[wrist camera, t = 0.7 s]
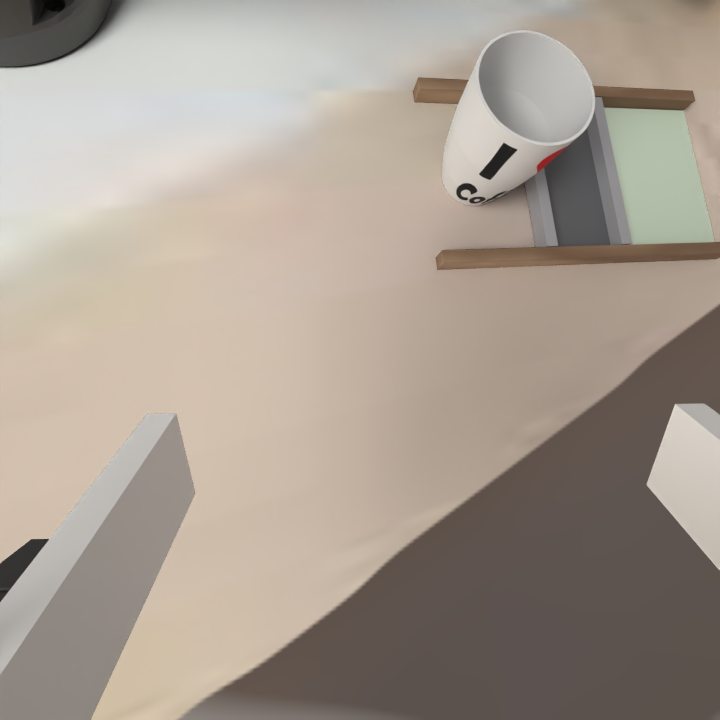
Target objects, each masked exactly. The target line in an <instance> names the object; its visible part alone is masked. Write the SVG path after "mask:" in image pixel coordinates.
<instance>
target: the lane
mask: <svg viewBox="0 0 720 720" xmlns="http://www.w3.org/2000/svg"><path fill="white" fill-rule="evenodd" d="M468 81H469V80H459V79H438V78H418V80H417V83H416V85H415V88H414V90H413V95H414V102H429V103H456V104H458V103H459V101H460V99H461V96H462V94H463V92H464V90H465V87H466V85H467V83H468ZM593 88H594V93H595V97H602V101H603V106H604V108H628V109H654V110H680V111H683V110H684V109H685V108H686V107H688V106H689V105H690V104H691V103H693V102H694V101H695V98H694V94H693V91H684V90H664V89H643V88H623V87H602V86H593ZM719 257H720V242H700V243H667V244H633V245H600V246H566V247H533V248H499V249H466V250H442V251H441V253H440V254H439V255H438V256H437V257H436V262H437V270H442V269H468V268H493V267H519V266H545V265H571V264H597V263H623V262H649V261H675V260H700V259H717V258H719Z"/></svg>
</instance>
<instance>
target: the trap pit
mask: <svg viewBox="0 0 720 720" xmlns="http://www.w3.org/2000/svg"><path fill="white" fill-rule="evenodd" d="M524 183H525V189H526V195H527V200H528V206H529V212H530V218H531V223H532V229H533V235H534V241H535V247H566V246H600V245H630V244H632V240H631V235H630V230H629V225H628V221H627V216H626V211H625V206H624V201H623V197H622V192H621V187H620V182H619V177H618V173H617V168H616V163H615V158H614V153H613V149H612V144H611V139H610V134H609V130H608V125H607V120H606V115H605V110H604V106H603V101H602V97H595V109H594V114H593V117H592V120H591V122H590V124H589V125H588V127H587V128H586V130H585V131H584V132H583V133H582V134H581V135H580V136H579V137H577V138H576V139H575V140H574V141H573V142H572V143H571V144H570V145H568V146H567V147H566V148H565V149H564V150H563V151H562V152H561V153H559V154H558V155H557V156H556V157H555V158H554V159H553V160H552V161H550V162H549V163H548V164H547V165H546V166H545V167H544V168H543V169H542V170H540V171H539V172H538V173H536V174H535V175H534V176H532V177H531V178H529V179H528V180H526V181H525V182H524Z"/></svg>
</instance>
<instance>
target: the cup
mask: <svg viewBox="0 0 720 720" xmlns="http://www.w3.org/2000/svg"><path fill="white" fill-rule="evenodd" d="M594 109H595V93H594V88H593V84H592V81H591V79H590V76H589V74H588V72H587V70H586V68H585V67H584V65H583V64H582V62H581V61H580V60H579V59H578V57H577V56H576V55H575V54H574V53H573V52H572V51H571V50H570V49H569V48H567V47H566V46H565V45H563V44H562V43H560V42H559V41H557V40H556V39H554V38H552V37H550V36H547V35H545V34H542V33H538V32H534V31H528V30H516V31H510V32H506V33H503V34H501V35H499V36H497V37H495V38H494V39H492V40H491V41H490V42H489V43H488V44H487V45H486V46H485V47H484V49H483V50H482V52H481V54H480V56H479V58H478V60H477V62H476V65H475V67H474V69H473V71H472V74H471V76H470V78H469V81H468V83H467V85H466V87H465V90H464V92H463V94H462V96H461V99H460V101H459V103H458V105H457V108H456V110H455V114H454V117H453V120H452V124H451V127H450V130H449V134H448V137H447V140H446V144H445V147H444V155H443V165H442V181H443V184H444V187H445V189H446V190H447V192H448V193H449V194H450V195H451V196H452V197H453V198H454V199H455V200H457V201H458V202H460V203H462V204H465V205H469V206H479V205H483V204H485V203H488V202H490V201H492V200H494V199H497V198H499V197H501V196H504V195H506V194H507V193H509V192H510V191H512V190H513V189H515V188H516V187H518V186H519V185H520V184H522V183H523V182H525V181H526V180H528V179H529V178H531V177H532V176H534V175H535V174H536V173H538V172H539V171H540V170H542V169H543V168H544V167H545V166H546V165H547V164H548V163H549V162H550V161H552V160H553V159H554V158H555V157H556V156H557V155H558V154H559V153H561V152H562V151H563V150H564V149H565V148H566V147H567V146H568V145H570V144H571V143H572V142H573V141H574V140H575V139H576V138H577V137H579V136H580V135H581V134H582V133H583V132H584V131H585V130H586V128H587V127H588V125H589V124H590V122H591V120H592V117H593V114H594Z"/></svg>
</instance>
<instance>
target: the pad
mask: <svg viewBox="0 0 720 720" xmlns="http://www.w3.org/2000/svg"><path fill="white" fill-rule="evenodd" d="M604 110H605V115H606V120H607V125H608V130H609V134H610V139H611V144H612V149H613V153H614V158H615V163H616V168H617V173H618V177H619V182H620V187H621V192H622V197H623V201H624V206H625V211H626V216H627V221H628V225H629V230H630V235H631V240H632V244H630V245H633V244H667V243H700V242H715V239H714V235H713V231H712V227H711V222H710V218H709V214H708V210H707V206H706V201H705V197H704V193H703V189H702V185H701V180H700V176H699V172H698V168H697V164H696V160H695V155H694V151H693V147H692V143H691V139H690V134H689V130H688V126H687V122H686V118H685V113H684V111H680V110H654V109H628V108H604Z"/></svg>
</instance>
